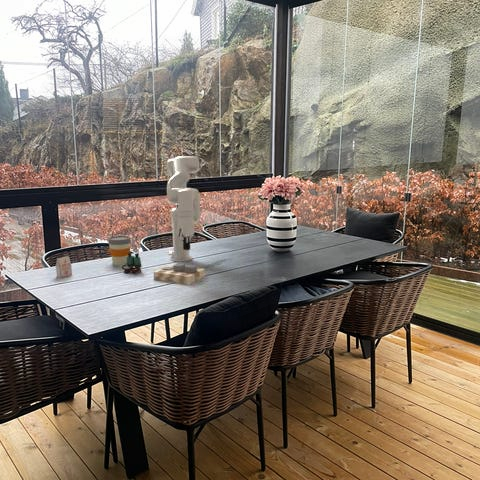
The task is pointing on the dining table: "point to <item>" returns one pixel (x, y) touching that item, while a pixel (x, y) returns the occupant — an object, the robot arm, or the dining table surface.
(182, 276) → the switch unit
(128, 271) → the green tank cart
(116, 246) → the reusable coffee cup
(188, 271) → the button
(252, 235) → the dining table surface
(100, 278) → the dining table surface
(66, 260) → the tea bag
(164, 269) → the button
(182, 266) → the button
